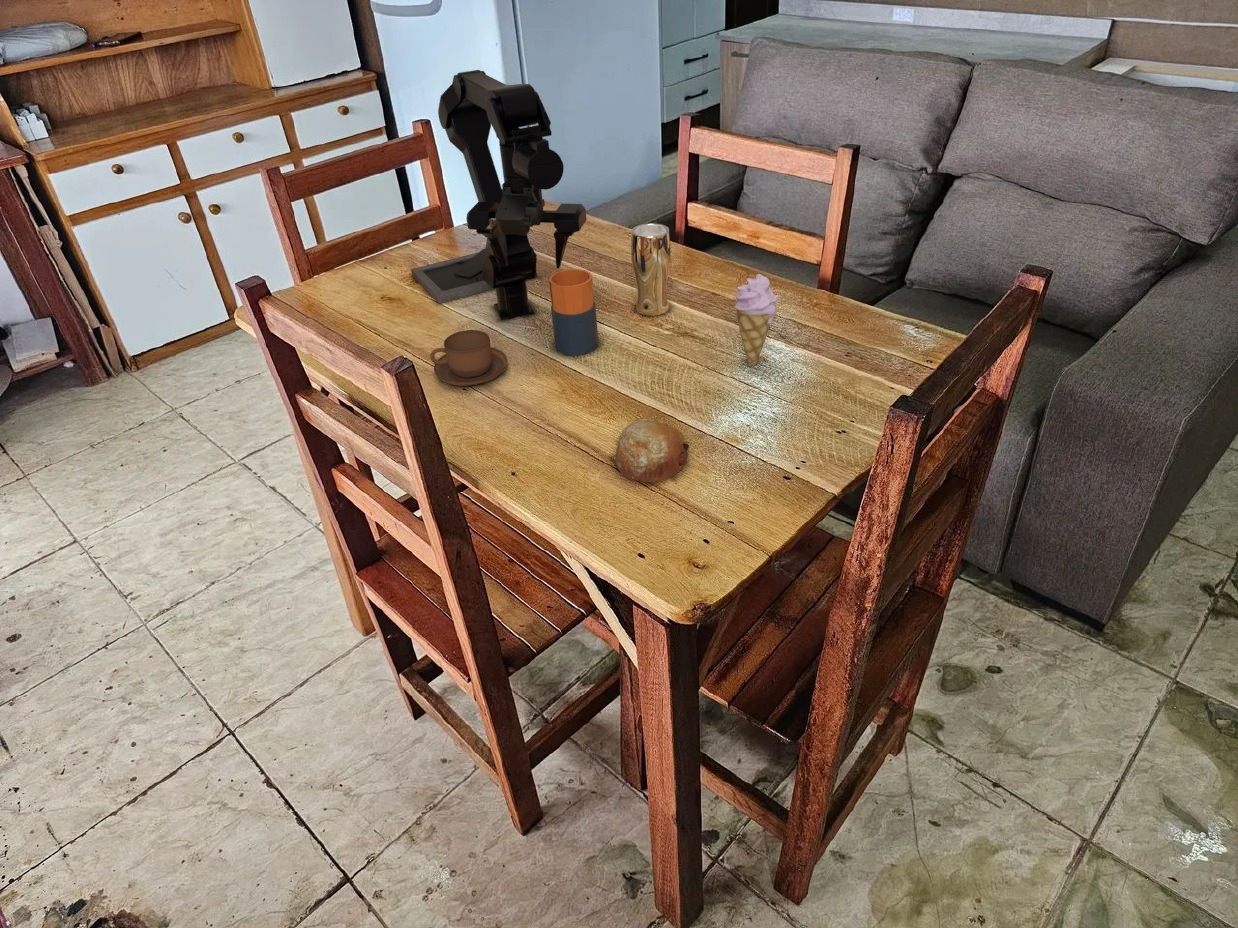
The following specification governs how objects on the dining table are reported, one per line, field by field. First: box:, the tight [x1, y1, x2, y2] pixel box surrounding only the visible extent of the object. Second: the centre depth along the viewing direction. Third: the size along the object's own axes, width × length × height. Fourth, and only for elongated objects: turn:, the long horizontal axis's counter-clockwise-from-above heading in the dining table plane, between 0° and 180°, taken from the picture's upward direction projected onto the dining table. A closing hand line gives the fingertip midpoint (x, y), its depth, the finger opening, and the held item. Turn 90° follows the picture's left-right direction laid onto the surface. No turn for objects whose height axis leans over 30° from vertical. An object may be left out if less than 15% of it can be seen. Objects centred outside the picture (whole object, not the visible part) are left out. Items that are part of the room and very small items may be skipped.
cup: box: [548, 268, 595, 315], centre depth 138 cm, size 7×7×5 cm
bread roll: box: [613, 417, 690, 483], centre depth 114 cm, size 10×10×8 cm
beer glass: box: [630, 223, 671, 317], centre depth 149 cm, size 7×7×15 cm
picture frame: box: [410, 248, 538, 304], centre depth 169 cm, size 16×2×21 cm
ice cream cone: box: [734, 273, 782, 366], centre depth 131 cm, size 7×6×15 cm
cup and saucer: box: [429, 329, 508, 387], centre depth 135 cm, size 12×12×6 cm
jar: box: [550, 301, 599, 357], centre depth 141 cm, size 7×8×8 cm
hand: (532, 266), depth 139 cm, fingers open, 9 cm apart
